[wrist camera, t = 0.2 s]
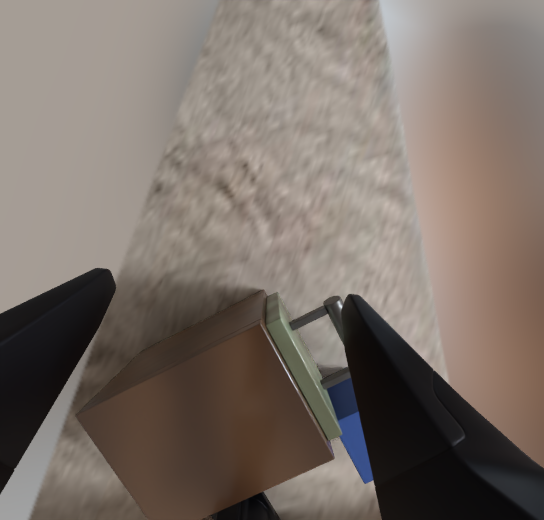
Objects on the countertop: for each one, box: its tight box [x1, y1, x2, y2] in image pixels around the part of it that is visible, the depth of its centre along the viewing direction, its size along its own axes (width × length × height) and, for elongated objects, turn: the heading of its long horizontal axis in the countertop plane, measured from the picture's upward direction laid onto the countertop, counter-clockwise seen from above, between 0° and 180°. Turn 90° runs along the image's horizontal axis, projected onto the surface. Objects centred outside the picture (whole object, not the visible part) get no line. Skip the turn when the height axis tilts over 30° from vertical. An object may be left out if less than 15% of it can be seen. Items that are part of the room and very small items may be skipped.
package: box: [327, 378, 373, 484], centre depth 24 cm, size 7×4×5 cm, turn 27°
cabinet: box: [75, 290, 334, 520], centre depth 21 cm, size 15×12×9 cm
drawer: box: [266, 292, 351, 441], centre depth 21 cm, size 18×10×7 cm, turn 117°
